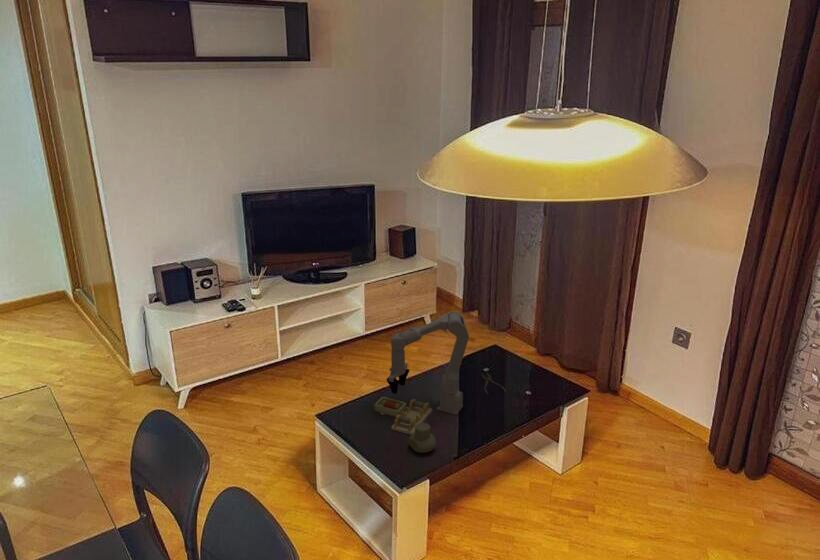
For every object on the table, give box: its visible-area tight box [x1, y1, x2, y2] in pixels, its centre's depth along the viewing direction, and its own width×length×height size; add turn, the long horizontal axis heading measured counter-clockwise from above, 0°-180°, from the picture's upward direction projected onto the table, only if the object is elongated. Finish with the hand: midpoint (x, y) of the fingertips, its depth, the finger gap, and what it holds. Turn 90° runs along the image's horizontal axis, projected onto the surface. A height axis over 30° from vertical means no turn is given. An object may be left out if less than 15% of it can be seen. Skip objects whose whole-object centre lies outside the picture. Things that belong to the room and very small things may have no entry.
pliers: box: [480, 372, 507, 395], centre depth 292 cm, size 10×1×20 cm
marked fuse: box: [382, 400, 400, 410], centre depth 270 cm, size 8×3×3 cm, turn 64°
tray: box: [373, 395, 408, 418], centre depth 269 cm, size 12×8×3 cm, turn 64°
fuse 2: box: [409, 398, 429, 410], centre depth 267 cm, size 8×3×3 cm, turn 64°
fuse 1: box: [395, 414, 415, 426], centre depth 255 cm, size 8×3×3 cm, turn 64°
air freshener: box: [408, 422, 437, 454], centre depth 242 cm, size 11×8×10 cm
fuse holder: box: [391, 398, 433, 436], centre depth 262 cm, size 10×20×4 cm, turn 154°
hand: (398, 388), depth 268 cm, fingers open, 7 cm apart
